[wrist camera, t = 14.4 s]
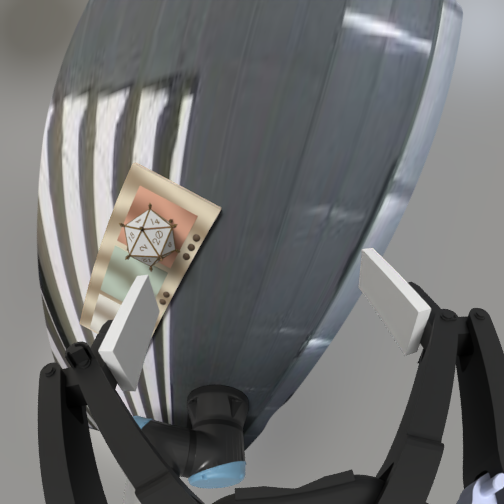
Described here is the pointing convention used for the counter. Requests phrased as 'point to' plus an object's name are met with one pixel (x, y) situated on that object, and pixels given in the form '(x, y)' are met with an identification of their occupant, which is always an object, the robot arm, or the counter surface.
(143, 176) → the board
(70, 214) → the counter surface
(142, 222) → the game die
